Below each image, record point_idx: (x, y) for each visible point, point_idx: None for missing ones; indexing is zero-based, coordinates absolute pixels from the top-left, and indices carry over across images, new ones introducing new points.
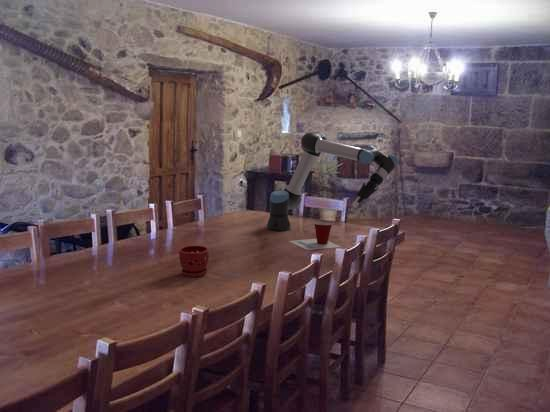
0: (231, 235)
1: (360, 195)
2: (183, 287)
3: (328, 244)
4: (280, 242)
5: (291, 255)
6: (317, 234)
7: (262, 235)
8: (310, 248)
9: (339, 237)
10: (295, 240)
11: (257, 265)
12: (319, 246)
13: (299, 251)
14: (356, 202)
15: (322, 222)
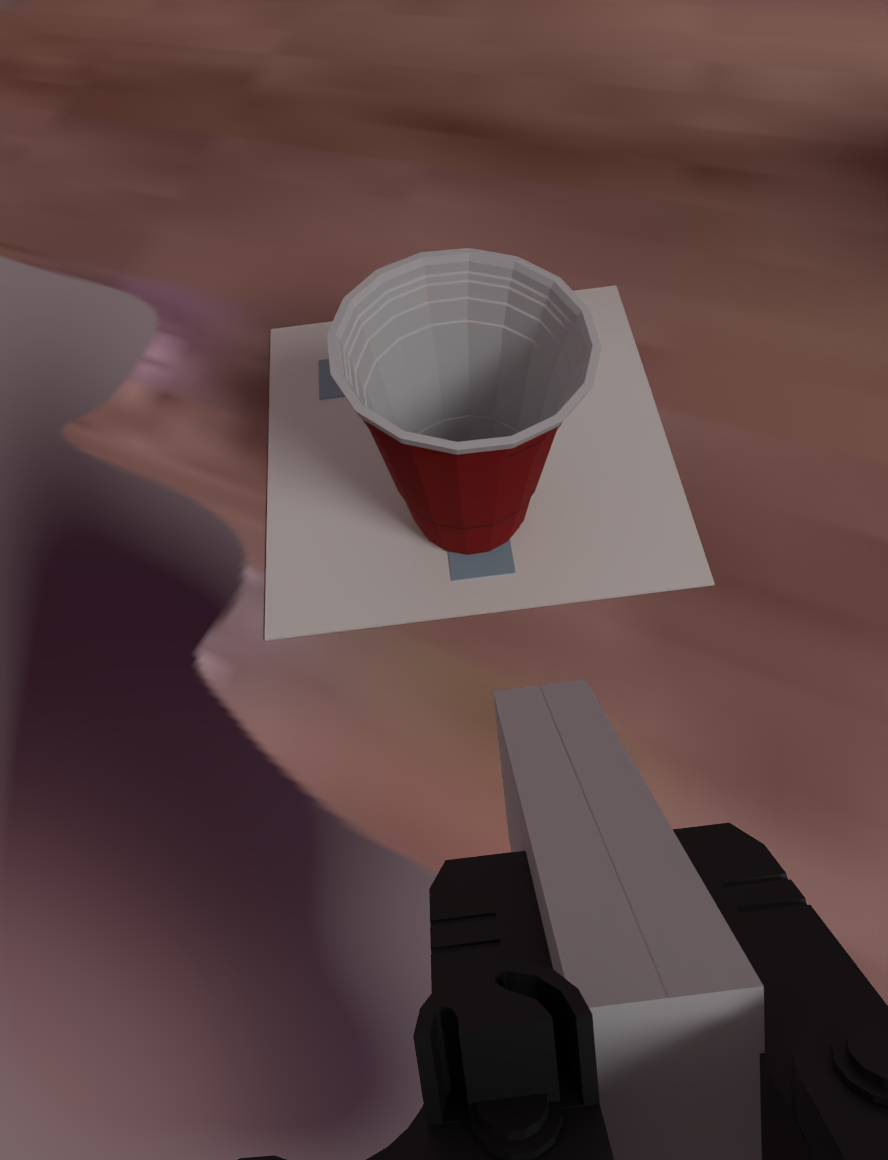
0: (849, 39)
1: (503, 1002)
2: None
3: (404, 550)
4: (580, 233)
5: (176, 217)
6: (443, 384)
7: (860, 177)
8: (307, 362)
9: (771, 840)
10: (632, 335)
11: (71, 64)
12: (350, 446)
13: (257, 278)
14: (519, 818)
15: (582, 377)
